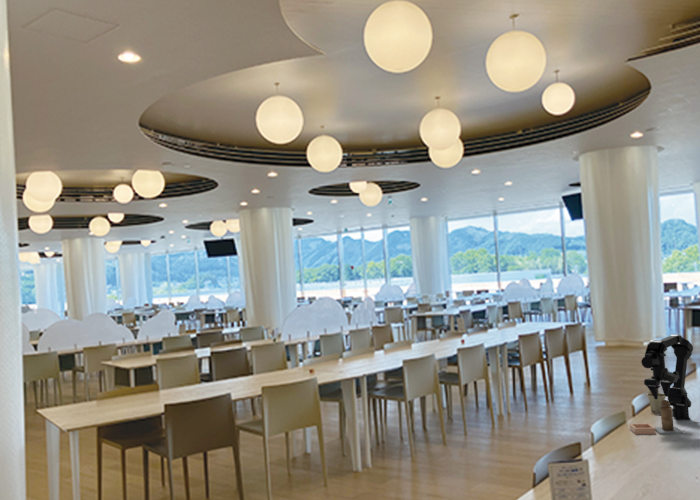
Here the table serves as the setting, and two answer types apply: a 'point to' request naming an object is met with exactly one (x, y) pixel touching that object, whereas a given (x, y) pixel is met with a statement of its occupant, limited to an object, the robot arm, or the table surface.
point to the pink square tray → (642, 428)
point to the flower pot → (656, 401)
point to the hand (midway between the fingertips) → (661, 397)
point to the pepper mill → (666, 416)
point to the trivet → (675, 431)
